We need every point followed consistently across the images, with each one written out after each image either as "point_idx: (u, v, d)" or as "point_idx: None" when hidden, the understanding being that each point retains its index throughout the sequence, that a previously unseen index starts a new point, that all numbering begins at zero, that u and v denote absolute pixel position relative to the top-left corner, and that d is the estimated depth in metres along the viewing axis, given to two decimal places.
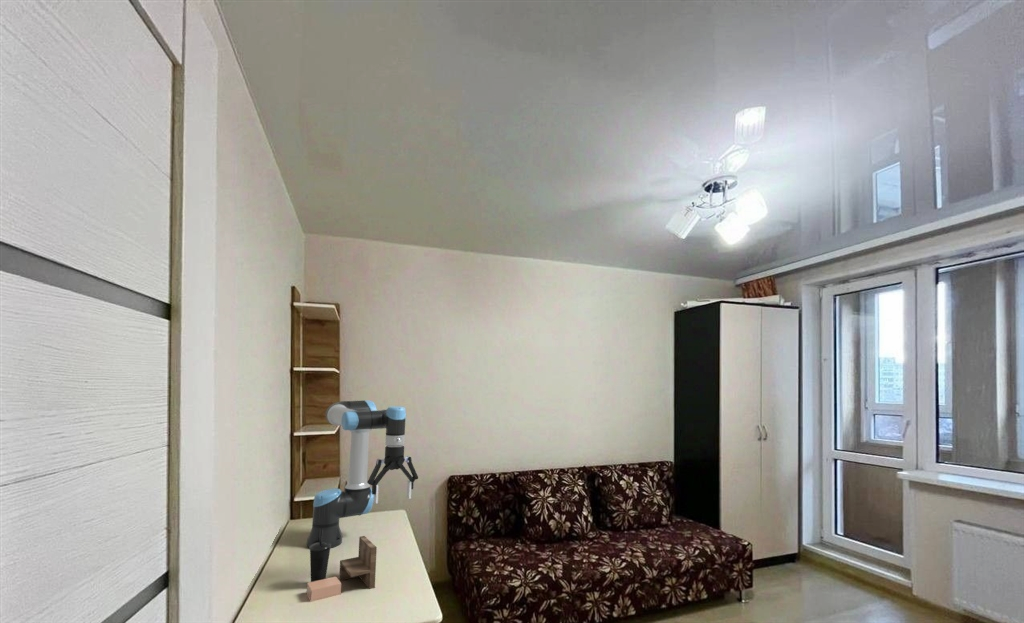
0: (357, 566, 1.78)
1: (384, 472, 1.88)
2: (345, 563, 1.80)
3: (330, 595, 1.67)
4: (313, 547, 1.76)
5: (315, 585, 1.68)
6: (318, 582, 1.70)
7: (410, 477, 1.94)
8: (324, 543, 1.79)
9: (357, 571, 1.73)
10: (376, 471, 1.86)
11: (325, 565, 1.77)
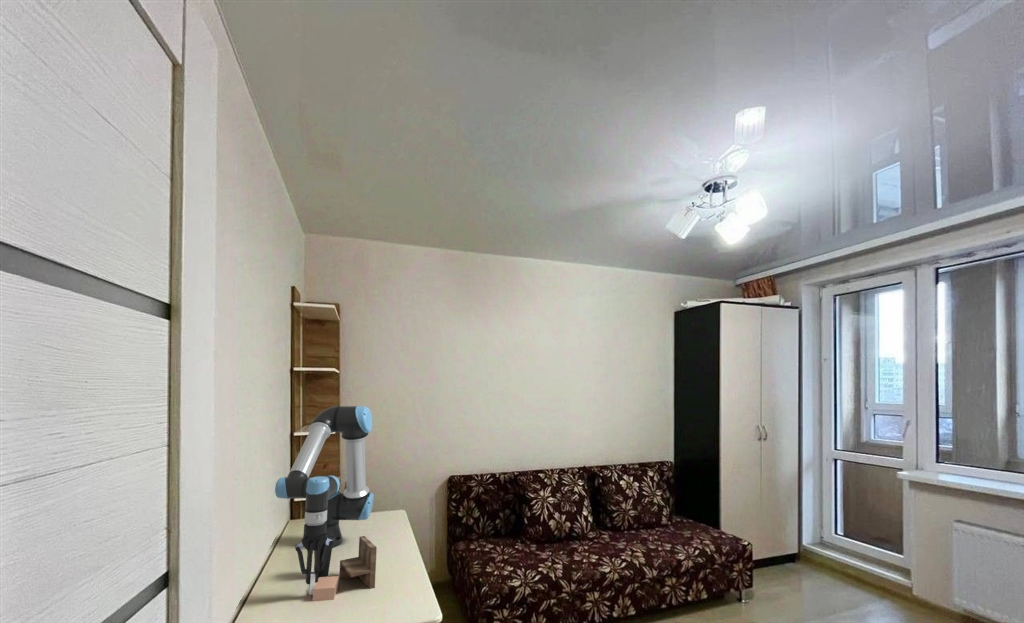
0: (357, 566, 1.78)
1: (310, 556, 1.67)
2: (345, 563, 1.80)
3: (337, 589, 1.72)
4: None
5: (325, 585, 1.67)
6: (320, 584, 1.68)
7: (317, 567, 1.68)
8: (327, 536, 1.86)
9: (357, 571, 1.73)
10: (301, 559, 1.66)
11: (328, 557, 1.84)
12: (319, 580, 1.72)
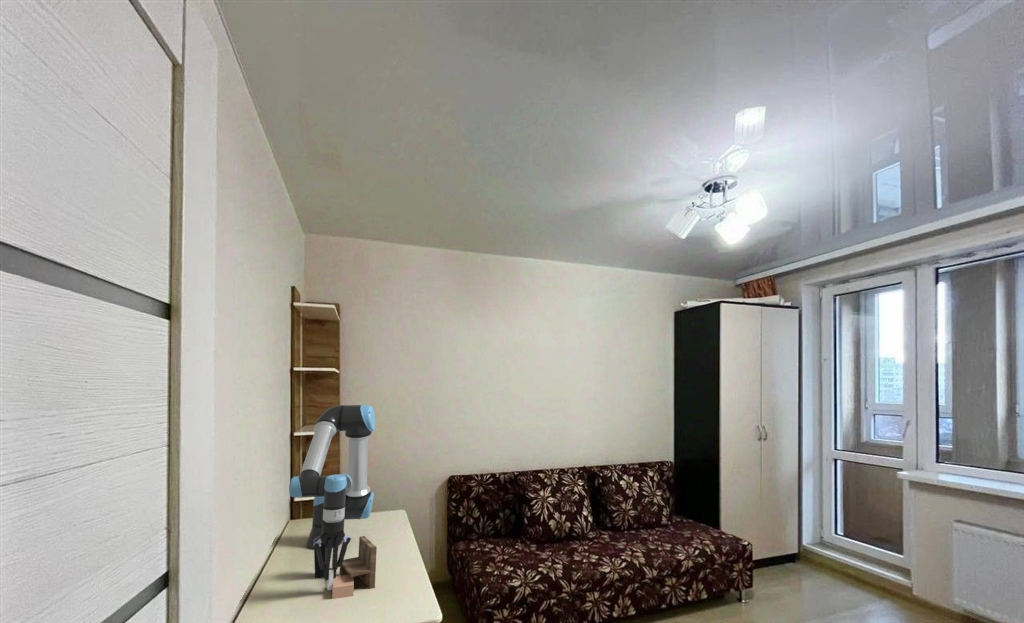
0: (357, 566, 1.78)
1: (328, 553, 1.71)
2: (345, 563, 1.80)
3: None
4: (317, 540, 1.84)
5: (343, 583, 1.69)
6: (338, 582, 1.70)
7: (335, 563, 1.71)
8: None
9: (357, 571, 1.73)
10: (320, 555, 1.69)
11: None
12: (335, 579, 1.73)
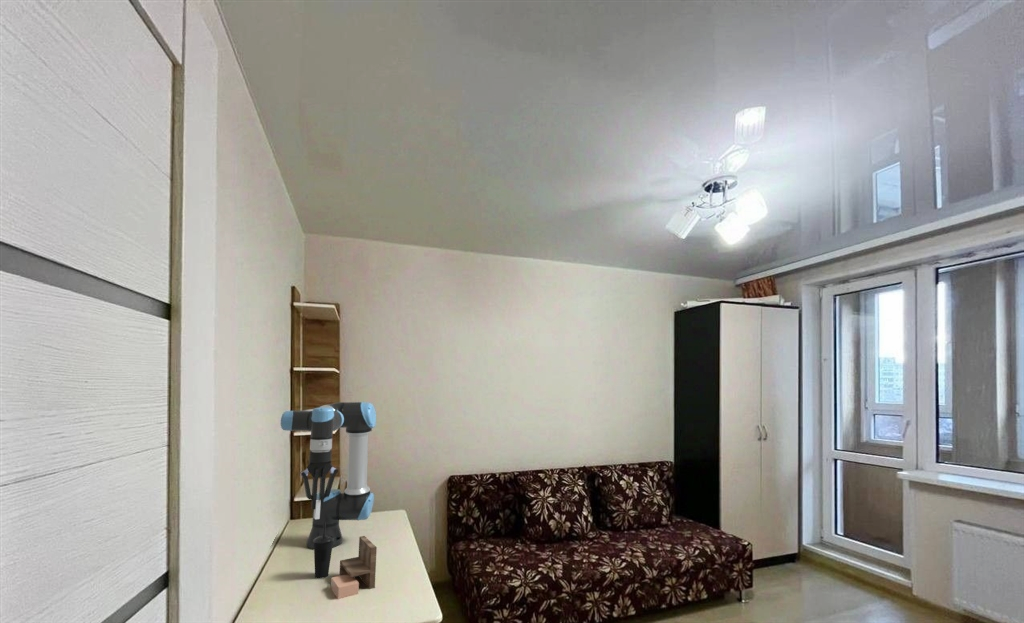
0: (357, 566, 1.78)
1: (315, 482, 1.71)
2: (345, 563, 1.80)
3: None
4: (317, 540, 1.84)
5: (347, 583, 1.70)
6: (341, 583, 1.70)
7: (322, 493, 1.71)
8: (327, 536, 1.86)
9: (357, 571, 1.73)
10: (306, 484, 1.69)
11: (328, 557, 1.84)
12: (335, 580, 1.72)
